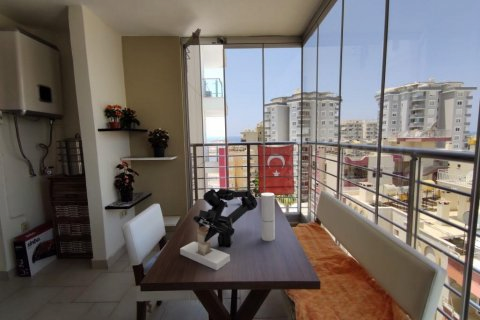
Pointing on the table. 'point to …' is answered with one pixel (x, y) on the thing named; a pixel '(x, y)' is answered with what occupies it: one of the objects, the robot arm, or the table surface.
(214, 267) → the white slotted block
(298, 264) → the table surface
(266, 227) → the cylindrical container
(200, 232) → the wooden peg
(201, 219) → the robot arm
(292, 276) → the table surface
